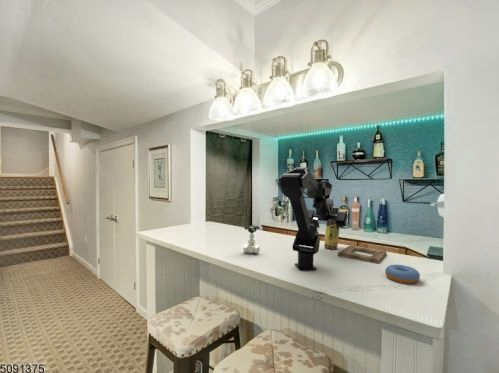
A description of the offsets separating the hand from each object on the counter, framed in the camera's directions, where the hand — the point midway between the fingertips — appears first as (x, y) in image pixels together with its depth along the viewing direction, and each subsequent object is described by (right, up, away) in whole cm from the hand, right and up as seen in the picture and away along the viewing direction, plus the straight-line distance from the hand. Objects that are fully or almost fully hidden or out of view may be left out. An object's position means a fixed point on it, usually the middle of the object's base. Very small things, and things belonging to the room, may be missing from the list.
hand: (328, 228), depth 120 cm
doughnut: (+14, -12, -34) cm, 39 cm away
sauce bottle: (+2, -10, +4) cm, 11 cm away
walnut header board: (+13, -10, -8) cm, 18 cm away
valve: (-36, -10, -7) cm, 38 cm away
